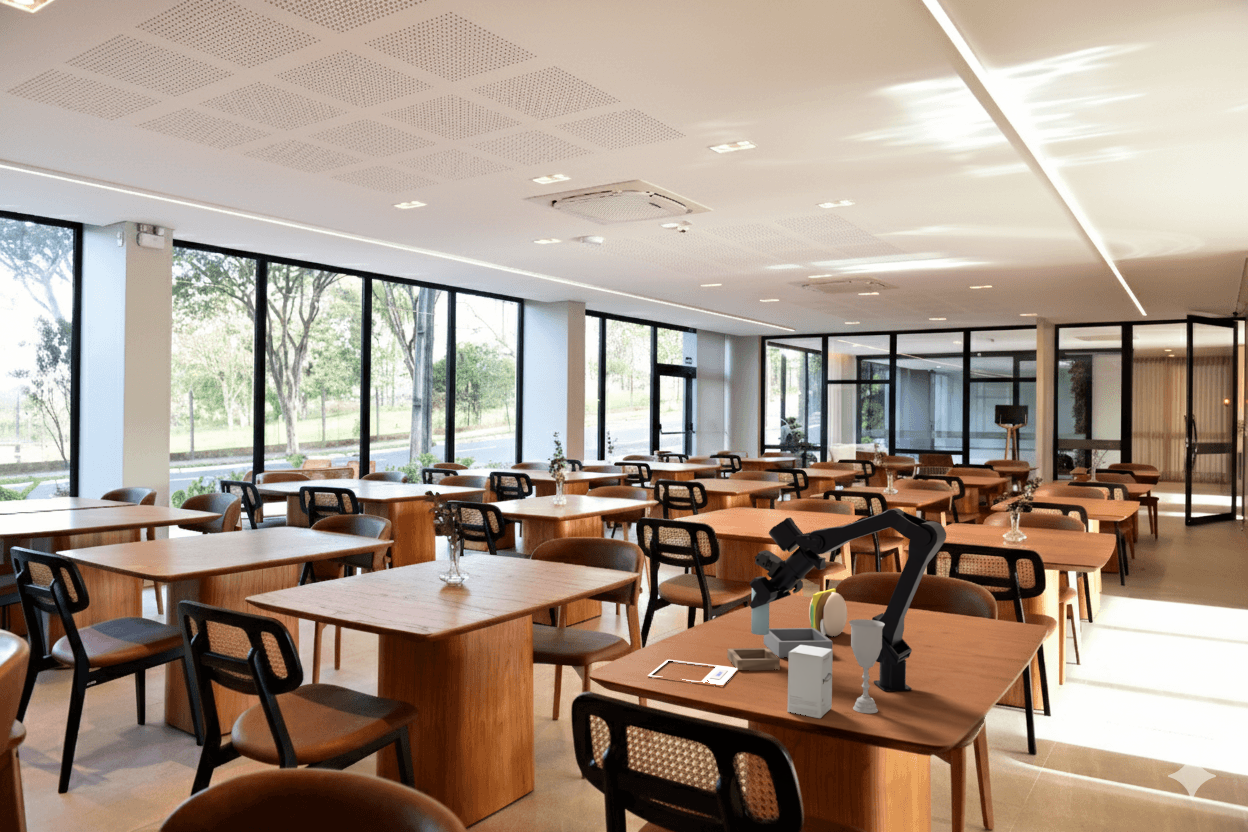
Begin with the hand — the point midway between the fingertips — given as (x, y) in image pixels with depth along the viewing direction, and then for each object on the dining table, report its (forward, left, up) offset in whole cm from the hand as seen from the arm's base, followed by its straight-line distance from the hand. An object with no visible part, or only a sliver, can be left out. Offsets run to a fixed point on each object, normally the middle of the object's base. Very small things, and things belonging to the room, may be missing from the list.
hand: (755, 605), depth 217 cm
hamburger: (+23, -27, -14) cm, 38 cm away
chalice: (-38, -13, -14) cm, 43 cm away
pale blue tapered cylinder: (-1, -1, -7) cm, 7 cm away
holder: (-4, +2, -13) cm, 14 cm away
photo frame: (-11, +18, -14) cm, 25 cm away
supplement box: (-38, -1, -14) cm, 41 cm away
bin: (+8, -13, -13) cm, 21 cm away
